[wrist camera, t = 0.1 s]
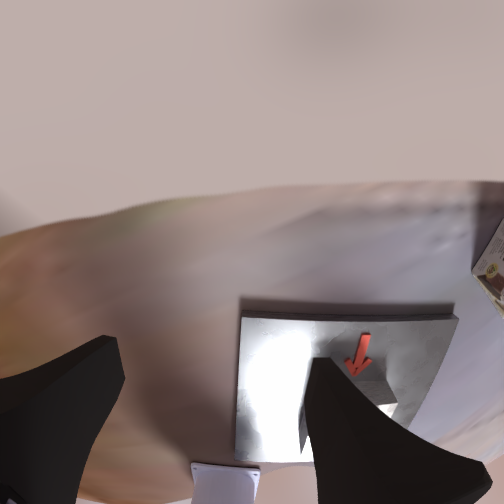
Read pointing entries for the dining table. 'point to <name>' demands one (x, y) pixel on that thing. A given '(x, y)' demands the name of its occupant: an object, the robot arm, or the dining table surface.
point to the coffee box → (493, 270)
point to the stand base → (345, 357)
